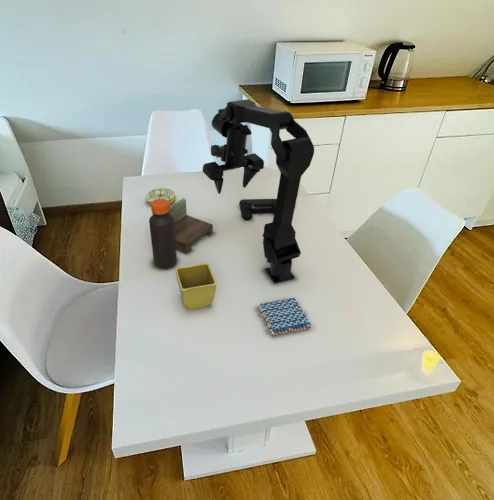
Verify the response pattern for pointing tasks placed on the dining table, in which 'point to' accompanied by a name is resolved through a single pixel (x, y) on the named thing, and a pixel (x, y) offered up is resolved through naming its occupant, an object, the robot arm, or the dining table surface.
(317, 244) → the dining table surface
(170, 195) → the yellow flat round disc
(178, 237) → the brown wooden stand
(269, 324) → the woven mat
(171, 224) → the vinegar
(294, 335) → the dining table surface
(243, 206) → the black toy gun
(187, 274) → the flower pot
